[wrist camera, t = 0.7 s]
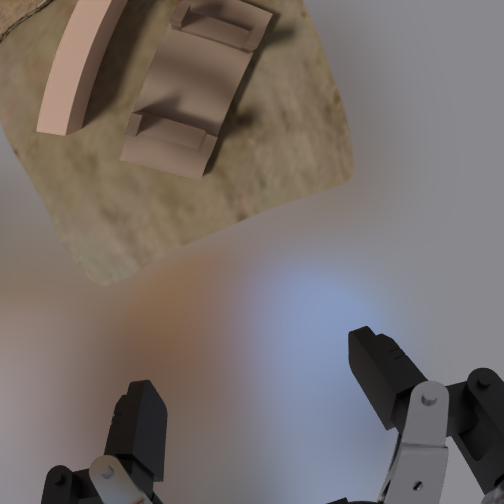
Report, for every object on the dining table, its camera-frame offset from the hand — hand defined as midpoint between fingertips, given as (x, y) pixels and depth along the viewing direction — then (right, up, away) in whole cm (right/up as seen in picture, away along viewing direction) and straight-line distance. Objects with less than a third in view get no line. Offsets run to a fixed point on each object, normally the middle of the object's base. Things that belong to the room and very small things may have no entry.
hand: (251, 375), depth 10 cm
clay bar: (-17, +25, +10) cm, 32 cm away
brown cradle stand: (-6, +22, +14) cm, 27 cm away
